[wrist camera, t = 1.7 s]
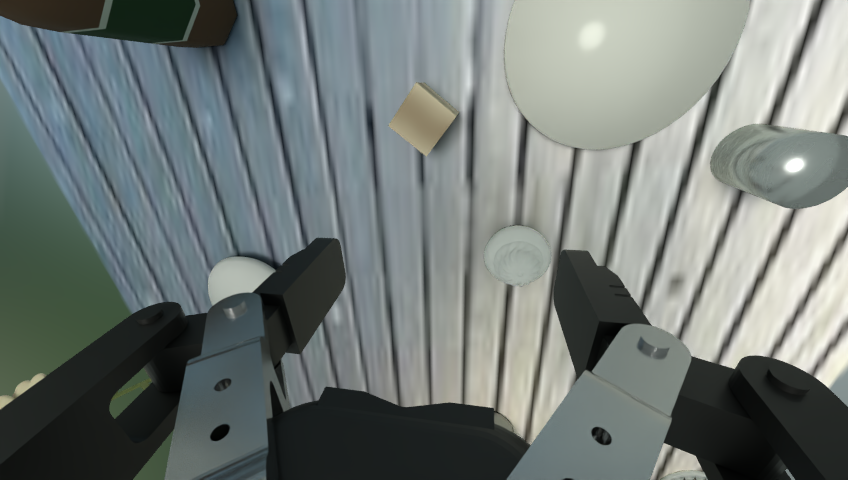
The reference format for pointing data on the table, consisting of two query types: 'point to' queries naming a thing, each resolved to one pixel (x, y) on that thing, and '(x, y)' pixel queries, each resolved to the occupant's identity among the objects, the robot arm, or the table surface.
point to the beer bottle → (130, 19)
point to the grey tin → (783, 164)
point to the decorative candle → (686, 475)
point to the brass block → (423, 118)
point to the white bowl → (615, 64)
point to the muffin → (517, 255)
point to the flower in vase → (222, 283)
